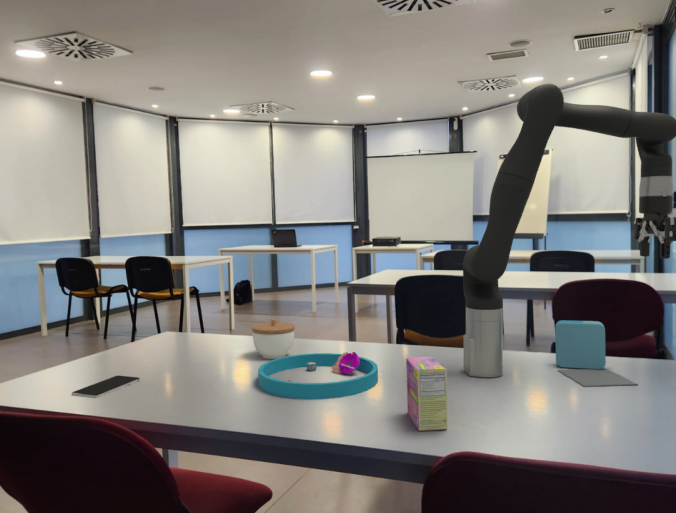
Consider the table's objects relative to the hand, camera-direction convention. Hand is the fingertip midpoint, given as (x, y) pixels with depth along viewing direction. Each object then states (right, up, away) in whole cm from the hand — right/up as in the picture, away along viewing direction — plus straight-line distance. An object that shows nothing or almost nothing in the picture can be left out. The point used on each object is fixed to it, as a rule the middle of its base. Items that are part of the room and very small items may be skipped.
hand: (654, 257), depth 144 cm
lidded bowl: (-102, -30, +22) cm, 108 cm away
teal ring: (-87, -32, -4) cm, 93 cm away
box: (-65, -33, -34) cm, 80 cm away
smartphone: (-139, -33, -8) cm, 143 cm away
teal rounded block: (-18, -29, +4) cm, 35 cm away
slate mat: (-18, -30, -6) cm, 36 cm away
